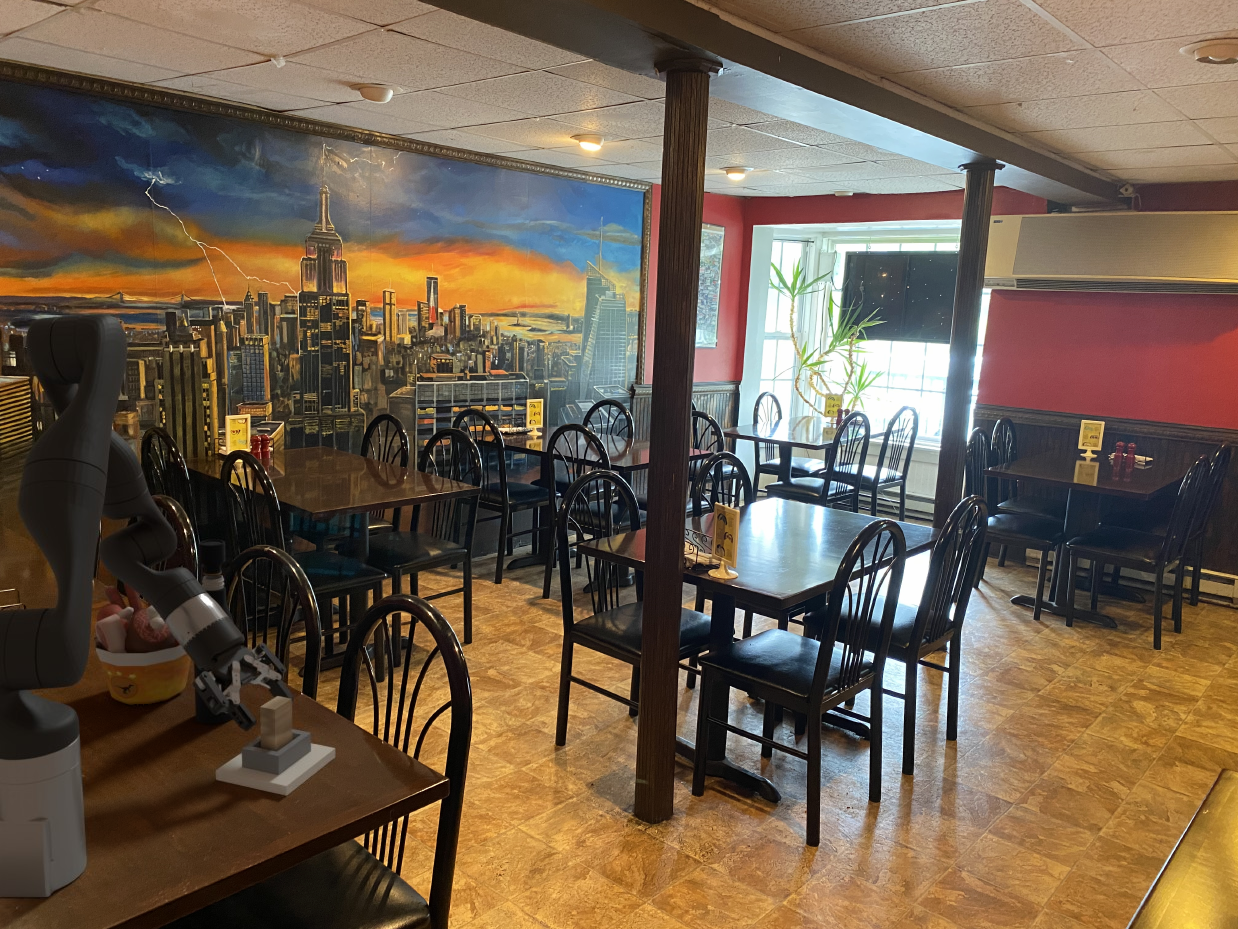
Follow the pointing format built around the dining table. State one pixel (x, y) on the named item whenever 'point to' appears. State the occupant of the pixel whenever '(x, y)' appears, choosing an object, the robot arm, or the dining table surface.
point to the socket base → (276, 764)
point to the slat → (276, 723)
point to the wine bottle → (213, 585)
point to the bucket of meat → (138, 651)
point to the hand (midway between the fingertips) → (271, 715)
